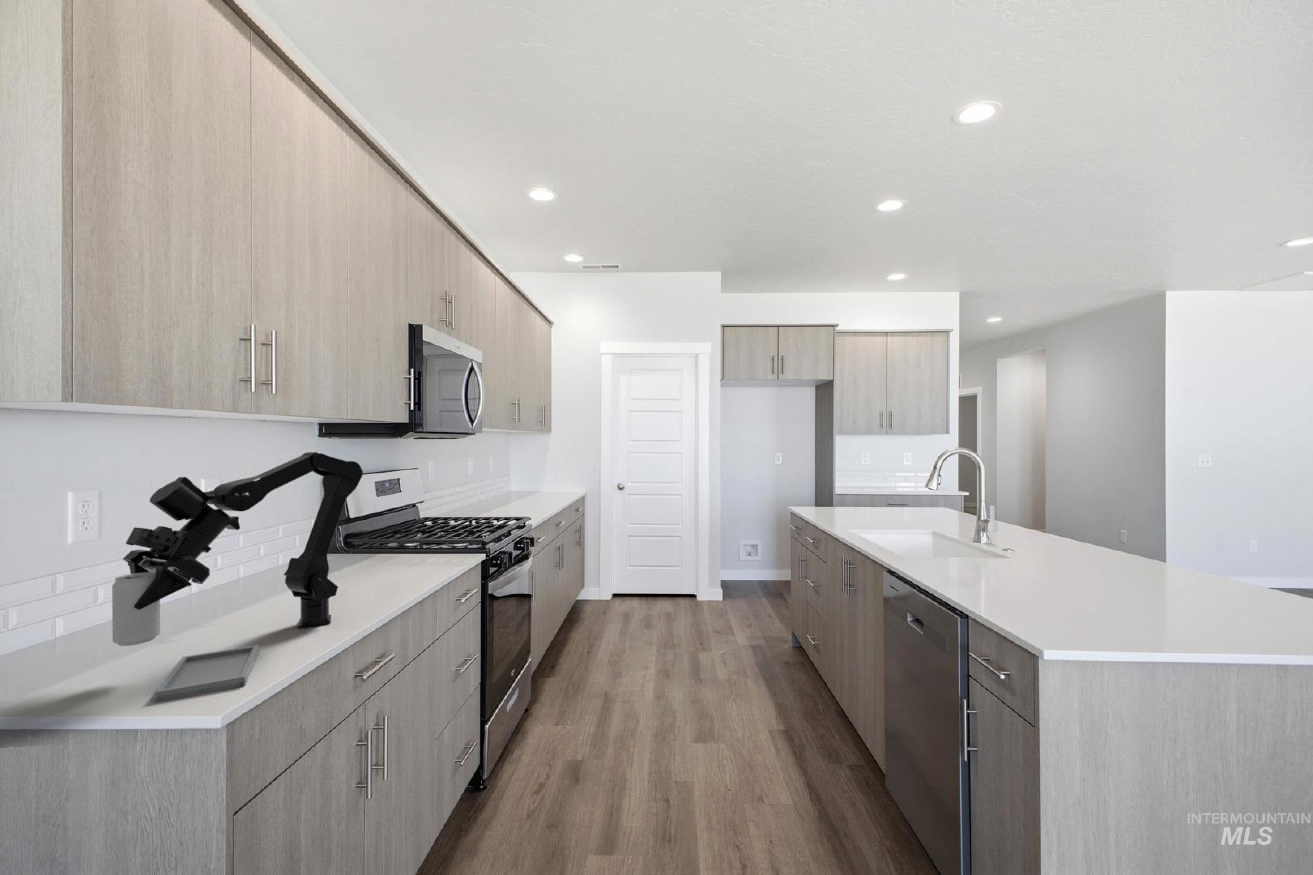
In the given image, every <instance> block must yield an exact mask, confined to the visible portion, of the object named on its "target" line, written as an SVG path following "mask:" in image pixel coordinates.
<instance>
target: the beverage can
mask: <svg viewBox="0 0 1313 875" xmlns="http://www.w3.org/2000/svg"><path fill="white" fill-rule="evenodd" d="M155 577H156V572H145V573H135V574H131V573H130V574H124V575H120V576H117V577H115V578H114V580H115V581H114V583H113V584H112V585H111V586H112V587H111V588H112V589H111V594H112V596H111V597H112V600H111V605H112V606H111V607H112V608H111V611H112V620H111V621H112V623H111V624H112V642H113V643H114V644H116V645H117V644H118V646H122V647H128V646H134V645H135V646H137V645H140V644H145V643H148V642H151V641H153V640H154V639H156V637H158V636H159V635H160V634H161V599H160V600H158V601H156V602H154V603H152V604H150V605H148V606H146V607H144V608H142V609H140V610H138V609H136V608H134V605H135V604H136V602H137V601H138V600H139V598H140V597H141V596H142V595H143V593H144V592H145V591H146V589H147V588H148V587H149V586H150V584H151V583H152V582H153V581H154V579H155Z"/></svg>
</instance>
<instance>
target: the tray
mask: <svg viewBox="0 0 1313 875" xmlns="http://www.w3.org/2000/svg"><path fill="white" fill-rule="evenodd" d="M259 655H260V645H259V644H256V645H250V646H244V647H238V648H231V649H230V648H229V649H224V650H217V651H212V652H211V651H210V652H205V653H204V652H203V653H198V654H192V655H185V656H182V657H181V659H179V661H178V662H177V663H176V664H175V666H174V667H173V668H172V670H171V671H170V672H169V673H168V675H167V676H166V678H165V679H164V680H163V681H162V683H161V684H160V685H159V687H157V689H156V690H155V691H154V703H158V702H163V701H169V700H174V699H178V698H179V699H180V698H184V697H185V698H187V697H191V696H197V695H201V694H208V693H213V692H219V691H224V690H230V689H234V688H239V687H240V688H241V687H246V684H247V682H248V679H249V677H250V675H251V673H252V670H253V668H254V666H255V663H256V661H257V659H258V656H259Z"/></svg>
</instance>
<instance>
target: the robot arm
mask: <svg viewBox="0 0 1313 875" xmlns="http://www.w3.org/2000/svg"><path fill="white" fill-rule="evenodd" d="M363 472H364V471H363V469H362V466H361V465H360V464H359V463H358V462H356V461H353V460H344V459H340V458H337V457H333V456H330V455H327V454H324V453H322V452H321V451H314V452H313V451H310V452H309V451H307V452H304V453H303V454H301V455H300V456H298V457H296V458H292V459H291V460H288V461H286V462H284V463H282V464H280V465H277V466H275V467H273V468H271V469H269V470H267V471H263V472H262V473H259V474H258V475H254V476H252V477H246V478H241V479H236V480H232V481H229V482H225V483H224V482H223V483H221V484H219V485H218V486H216V487H214V489H213V490H210V491H203V490H202V489H200V488H199V487H197V486H196V485H195V484H194V483H193V482H192V481H191V480H190V479H189V478H188V477H186V476H179V477H178V478H176V480H173V481H171V482H169V483H167V484H165V485H164V486H163V487H160V488H158V489H157V490H155V492H154V493H153V494H152V495H151V496H150V498H149V503H151V505H153V506H155V507H156V508H158V509H159V510H160V511H161V512H163V513H164V514H166V515H168V516H169V517H170V518H172V520H174V521H176V522H180V521H182V520H185V521H187V522H186V523H185V524H184V525H183V526H182V527H181V528H180V529H179V530H176V529H175V530H174V529H173V528H172V527H167V526H163V525H161V526H159V525H158V526H157V527H155V528H154V529H151V528H144V527H135V526H134V527H133V528H132V530H131V532H130V534H129V536H128V538H127V540H126V541H125V545H128V546H139V547H142V548H147V550H146V549H134V550H130V551H129V552H128V553H127V554H126V555H125V556H124V557H123V558H122V560H123V561H124V562H125V563H127V566H128V567H129V571H130V574H135V573H145V572H156V577H155V579H154V581H153V582H152V583H151V584H150V586H149V587H148V588H147V589H146V591H145V592H144V593H143V595H142V596H141V597H140V598H139V600H138V601H137V602H136V604H135V605H134V608H136V609H138V610H140V609H142V608H144V607H146V606H148V605H150V604H152V603H154V602H156V601H158V600H160V601H161V600H162V599H164V598H166V597H168V596H170V595H172V594H174V593H177V592H178V591H181V590H183V589H185V588H186V587H187V588H188V587H190V586H192V585H193V584H199V585H202V584H203V583H204V582H206V581H207V579H208V578H209V577H210V574H211V573H210V572H211V571H210V568H209V567H207V566H206V565H204V564H203V563H201V562H200V561H199V560H197V559H198V558H199V557H200V556H201V555H202V553H205V554H206V553H209V552H211V550H212V547H210V545H211V544H212V543H213V542H214V541H215V540H216V539H217V538H218V537H219V535H220V534H221V533H222V532H223V531H224V530H225V529H227V530H232V531H233V530H235V531H239V530H240V529H241V526H240V521H239V520H240V519H239V516H235V515H233V516H230V515H229V514H228V513H227V512H229V511H230V512H245V511H248V510H251V508H253V507H254V506H256V505H257V504H259V503H260V502H262V501H263V500H264V499H265V498H266V497H267V495H269V494H270V493H271V492H273V491H274V490H277V489H278V488H282V487H284V486H285V485H287V484H288V483H291V482H293V481H296V480H297V479H300V478H302V477H304V476H306V475H307V474H310V473H314V474H316V475H318V476H321V477H322V482H321V483H322V487H323V488H322V489H323V497H322V500H321V502H320V505H319V508H318V511H317V515H316V517H315V520H314V523H313V525H312V528H311V530H310V534H309V537H308V539H307V543H306V545H305V547H304V551H303V552H302V553H301V554H300V555H299V556H298V557H290V560H289V561H288V565H287V569H286V571H285V572H284V574H283V576H285V580H284V582H285V585H286V587H287V588H288V590H290V592H291V594H292V596H293V598H294V597H295V598H300V619H299V621H298V622H297V623H298V624H297V628H298V629H301V628H307V627H315V626H321V625H322V626H323V625H329V624H331V623H332V615H331V614H330V603H329V602H330V598H331V597H335V596H336V595H337V592H338V589H339V587H338V585H337V584H336V583H334V582H333V581H332V580H330V579H329V578H328V577H329V571H330V566H329V561H328V553H329V550H330V548H331V544H332V542H333V539H334V535H335V533H336V530H337V527H338V524H339V522H340V521H339V520H340V518H341V515H342V512H343V509H344V506H345V504H346V500H347V498H348V497H349V496H350V495H351V494H352V493H353V492H354V491H355V490H356V489H357V487H358V486H359V484H360V482H361V479H362V477H363V474H364V473H363ZM210 505H213V506H214V507H215V508H216V509H215V508H213V507H212V506H210ZM225 511H227V512H225ZM148 549H149V550H148ZM190 581H191V582H192V583H193V584H192V583H191V582H190Z"/></svg>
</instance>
